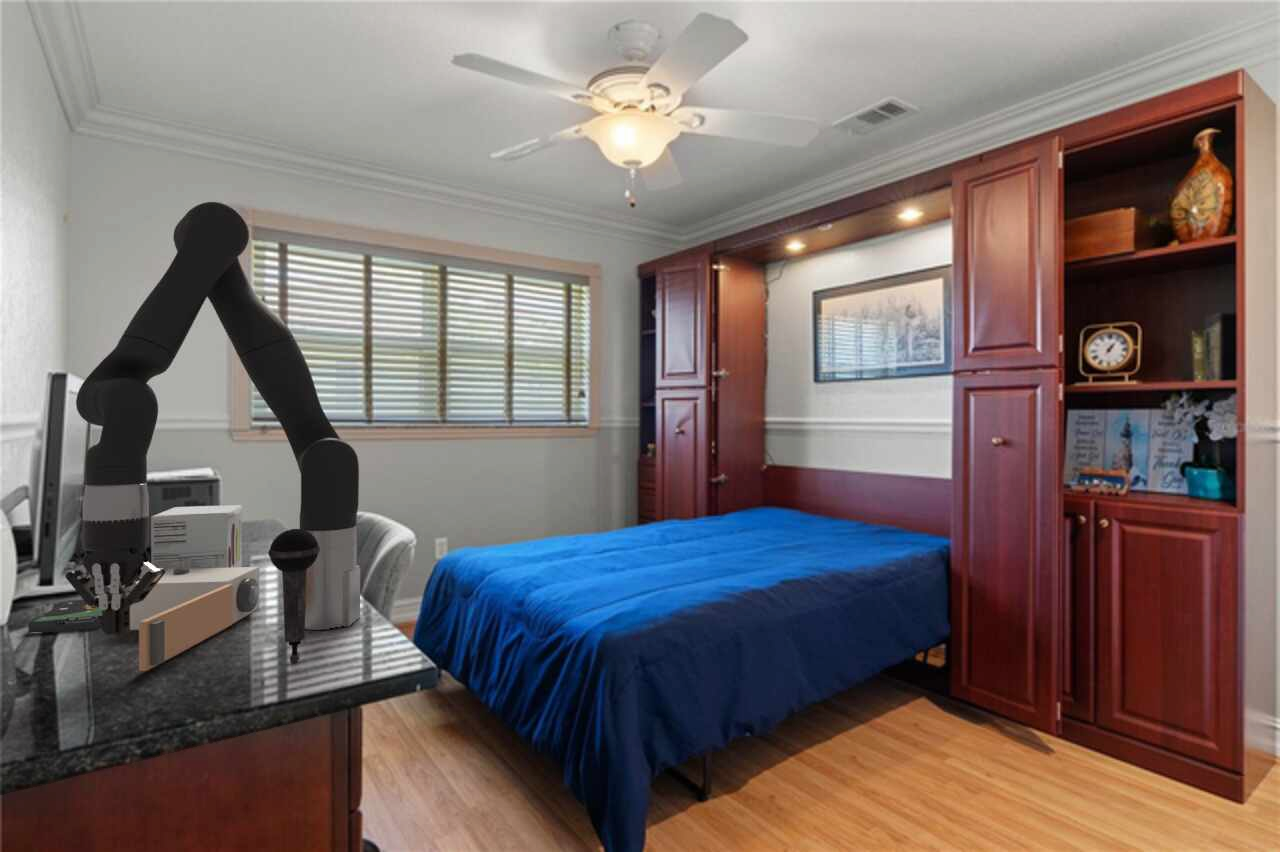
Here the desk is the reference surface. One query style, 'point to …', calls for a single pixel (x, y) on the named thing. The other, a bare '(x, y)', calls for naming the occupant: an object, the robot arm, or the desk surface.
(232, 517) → the supplement box
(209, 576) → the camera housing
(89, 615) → the disk drive
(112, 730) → the desk surface
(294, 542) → the microphone
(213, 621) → the door
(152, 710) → the desk surface
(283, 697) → the desk surface
